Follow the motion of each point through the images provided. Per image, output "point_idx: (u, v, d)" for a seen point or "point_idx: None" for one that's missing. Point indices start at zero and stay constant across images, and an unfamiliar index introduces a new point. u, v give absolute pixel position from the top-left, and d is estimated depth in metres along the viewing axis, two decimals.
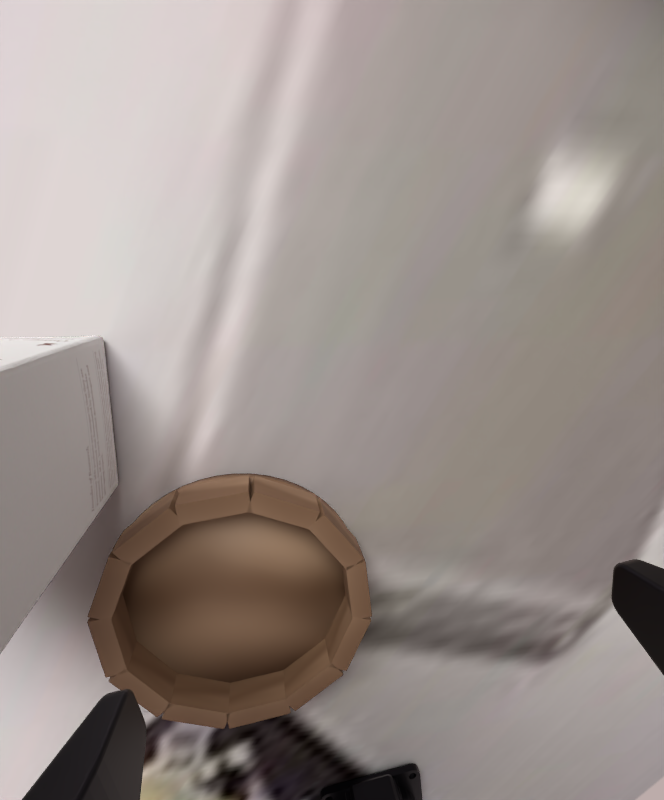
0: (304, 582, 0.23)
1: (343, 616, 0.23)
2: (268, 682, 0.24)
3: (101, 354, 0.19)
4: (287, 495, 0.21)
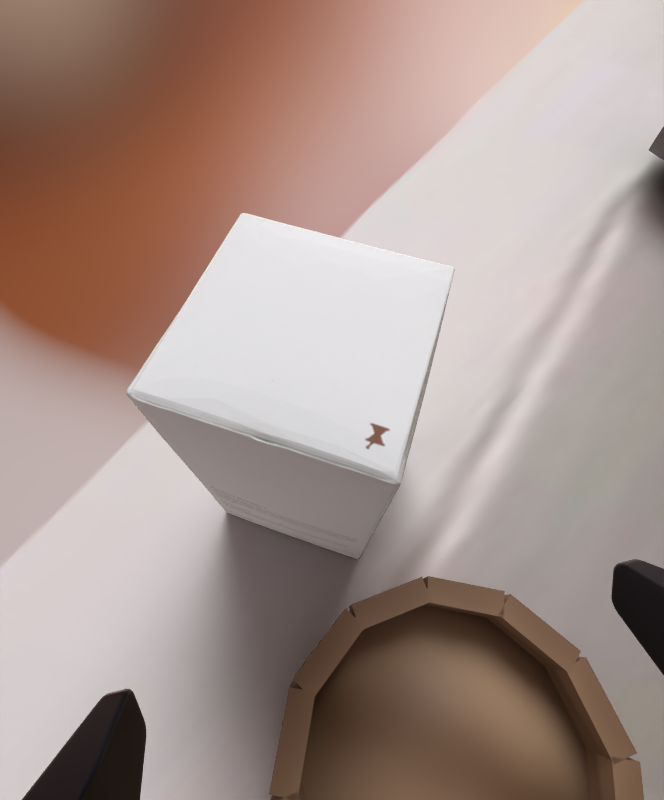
0: (533, 787, 0.17)
1: None
2: None
3: None
4: None
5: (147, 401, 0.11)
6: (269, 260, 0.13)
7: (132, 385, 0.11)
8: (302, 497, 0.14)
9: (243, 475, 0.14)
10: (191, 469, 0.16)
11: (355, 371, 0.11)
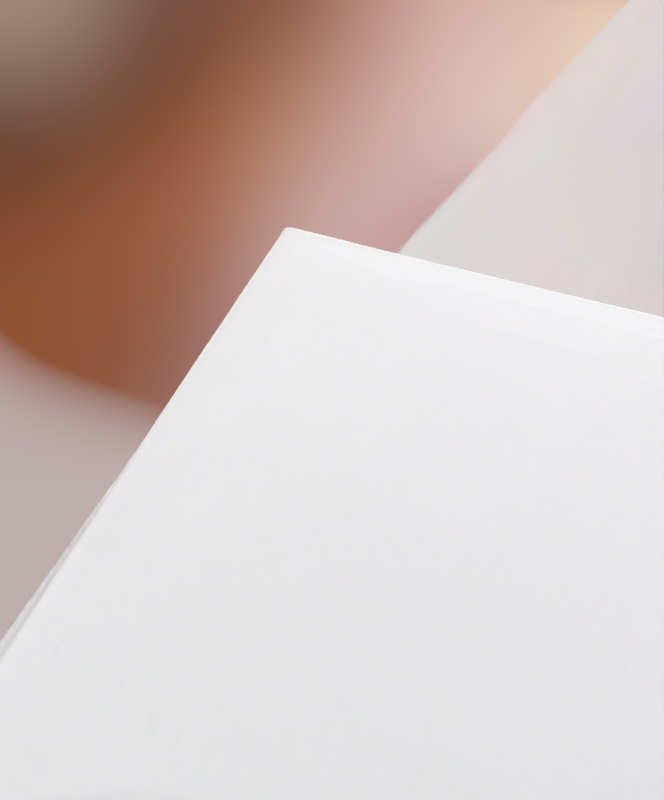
0: None
1: None
2: None
3: None
4: None
5: None
6: (365, 331, 0.05)
7: None
8: None
9: None
10: None
11: None
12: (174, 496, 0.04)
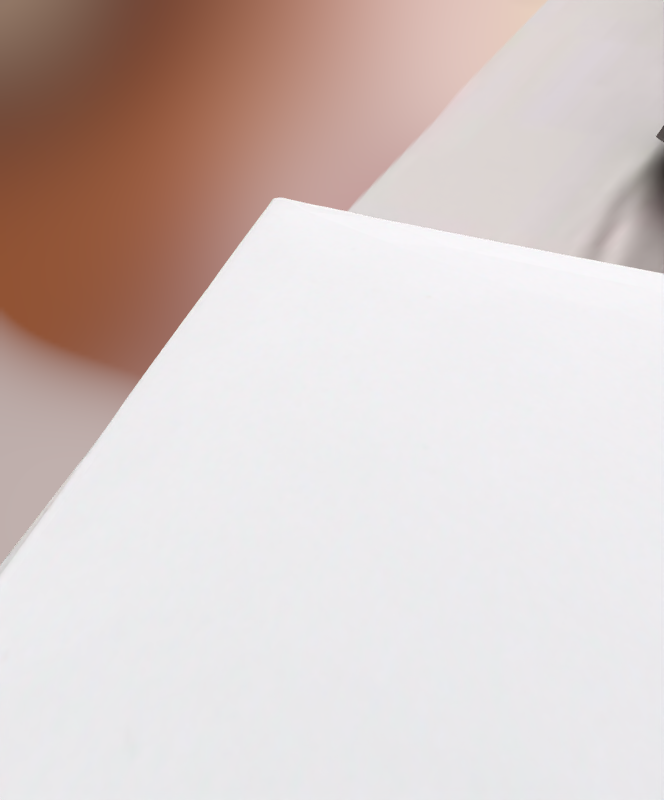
0: None
1: None
2: None
3: None
4: None
5: None
6: (369, 293, 0.05)
7: None
8: None
9: None
10: None
11: None
12: (156, 468, 0.03)
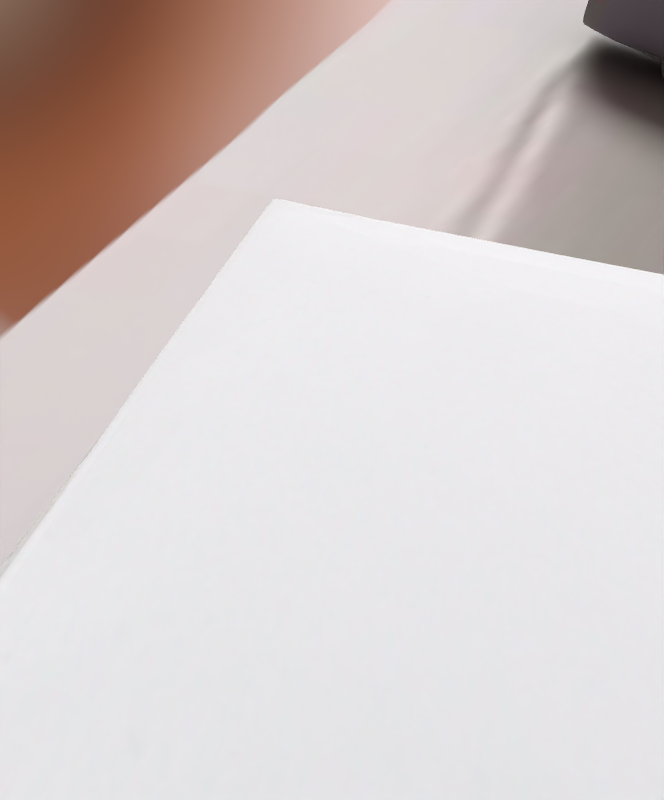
0: None
1: None
2: None
3: None
4: None
5: None
6: (368, 293, 0.05)
7: None
8: None
9: None
10: None
11: None
12: (157, 468, 0.03)
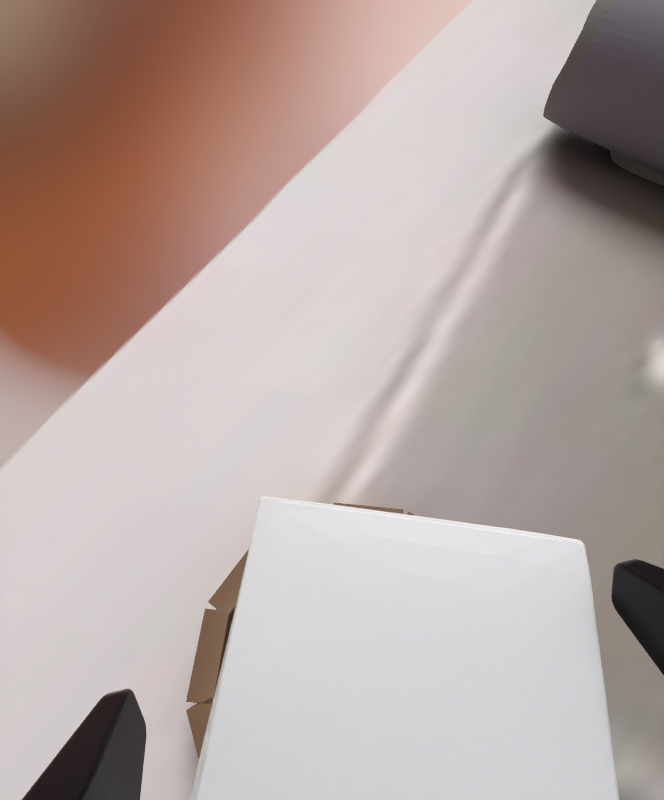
0: None
1: None
2: None
3: None
4: None
5: None
6: (324, 592, 0.09)
7: None
8: None
9: None
10: None
11: None
12: (242, 739, 0.08)
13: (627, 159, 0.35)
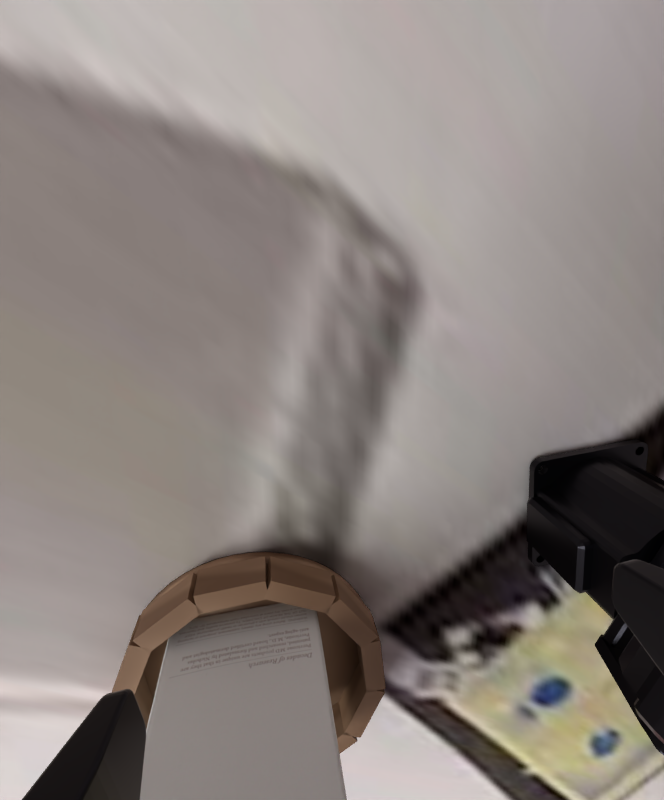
0: None
1: None
2: None
3: (185, 628, 0.21)
4: None
5: None
6: None
7: None
8: None
9: None
10: None
11: None
12: None
13: None
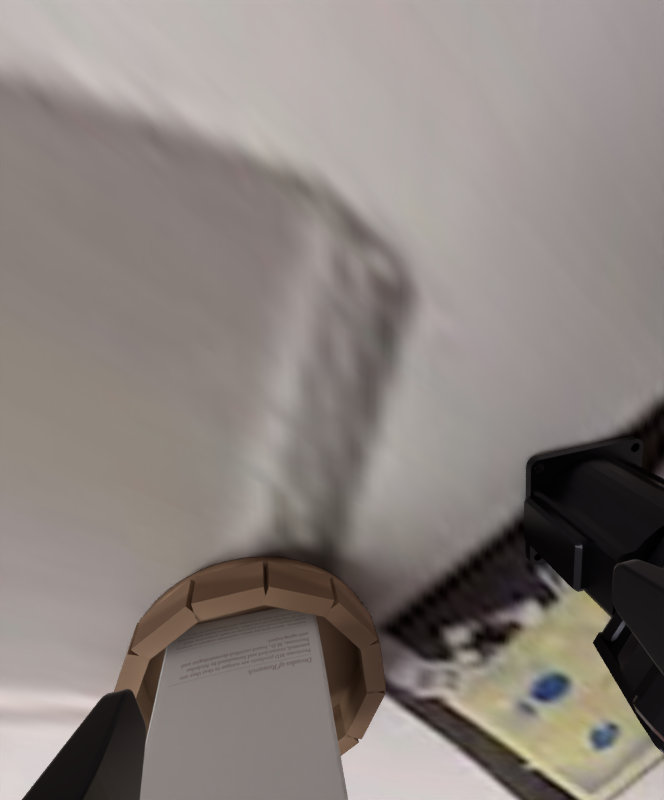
0: None
1: None
2: None
3: (183, 635, 0.21)
4: (122, 668, 0.20)
5: None
6: None
7: None
8: None
9: None
10: None
11: None
12: None
13: None
